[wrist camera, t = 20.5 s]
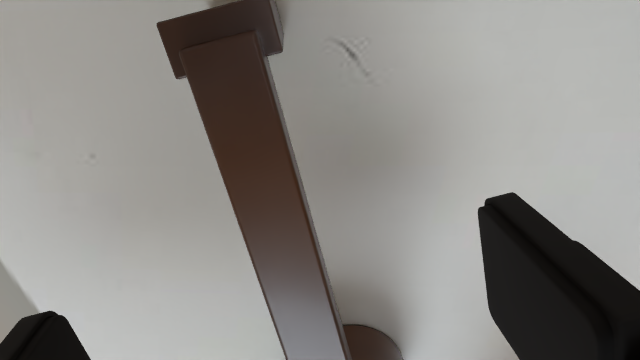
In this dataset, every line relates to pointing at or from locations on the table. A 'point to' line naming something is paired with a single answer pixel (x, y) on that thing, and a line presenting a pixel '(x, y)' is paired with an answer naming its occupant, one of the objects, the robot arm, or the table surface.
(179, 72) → the ladle
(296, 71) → the table surface
